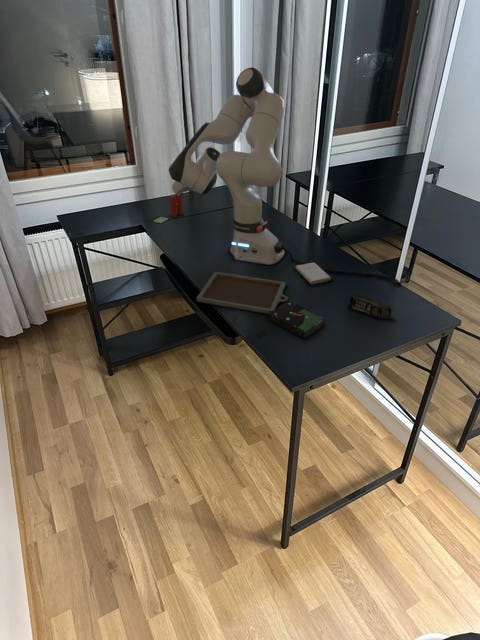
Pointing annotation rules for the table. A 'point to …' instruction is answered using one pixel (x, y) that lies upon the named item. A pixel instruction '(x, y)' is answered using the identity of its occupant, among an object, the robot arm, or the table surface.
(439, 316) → the table surface
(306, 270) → the hard drive
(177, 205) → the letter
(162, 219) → the tile
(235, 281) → the brown grey flat panel
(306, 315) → the disk drive
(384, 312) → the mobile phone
